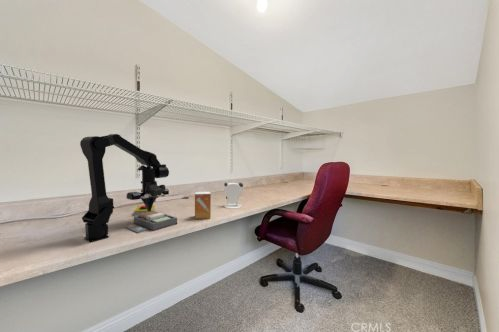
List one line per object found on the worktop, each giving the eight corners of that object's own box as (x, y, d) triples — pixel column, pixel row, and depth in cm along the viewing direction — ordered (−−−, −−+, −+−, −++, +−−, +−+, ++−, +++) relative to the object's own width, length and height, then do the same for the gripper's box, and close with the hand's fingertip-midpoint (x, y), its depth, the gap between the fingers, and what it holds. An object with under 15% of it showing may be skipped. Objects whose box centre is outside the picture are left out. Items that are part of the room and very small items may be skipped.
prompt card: (137, 233, 93) (137, 231, 93) (124, 227, 100) (124, 225, 100) (147, 230, 96) (147, 228, 96) (133, 225, 103) (133, 223, 103)
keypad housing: (153, 230, 96) (153, 224, 96) (133, 223, 106) (133, 217, 106) (177, 223, 106) (177, 217, 106) (157, 217, 116) (157, 211, 116)
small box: (194, 219, 113) (194, 194, 112) (195, 215, 119) (194, 191, 119) (210, 218, 115) (210, 193, 114) (210, 215, 121) (210, 191, 120)
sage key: (157, 226, 99) (157, 221, 99) (152, 224, 101) (152, 220, 101) (171, 222, 104) (171, 218, 104) (166, 220, 107) (166, 216, 106)
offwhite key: (150, 221, 102) (150, 217, 102) (146, 220, 104) (146, 215, 104) (164, 218, 107) (164, 213, 107) (159, 216, 110) (159, 212, 110)
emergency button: (133, 209, 116) (138, 203, 131) (133, 217, 117) (138, 210, 131) (152, 208, 119) (155, 202, 133) (152, 216, 119) (155, 209, 134)
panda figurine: (241, 204, 148) (241, 181, 147) (243, 208, 137) (243, 184, 136) (223, 204, 146) (223, 181, 145) (224, 208, 135) (224, 184, 134)
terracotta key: (144, 219, 105) (144, 215, 105) (140, 217, 107) (140, 213, 107) (158, 216, 111) (158, 212, 111) (153, 214, 113) (153, 210, 113)
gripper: (137, 182, 96) (138, 218, 97) (175, 178, 111) (175, 209, 112) (125, 180, 102) (126, 214, 103) (162, 177, 117) (162, 206, 118)
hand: (149, 211), depth 109 cm, fingers closed
